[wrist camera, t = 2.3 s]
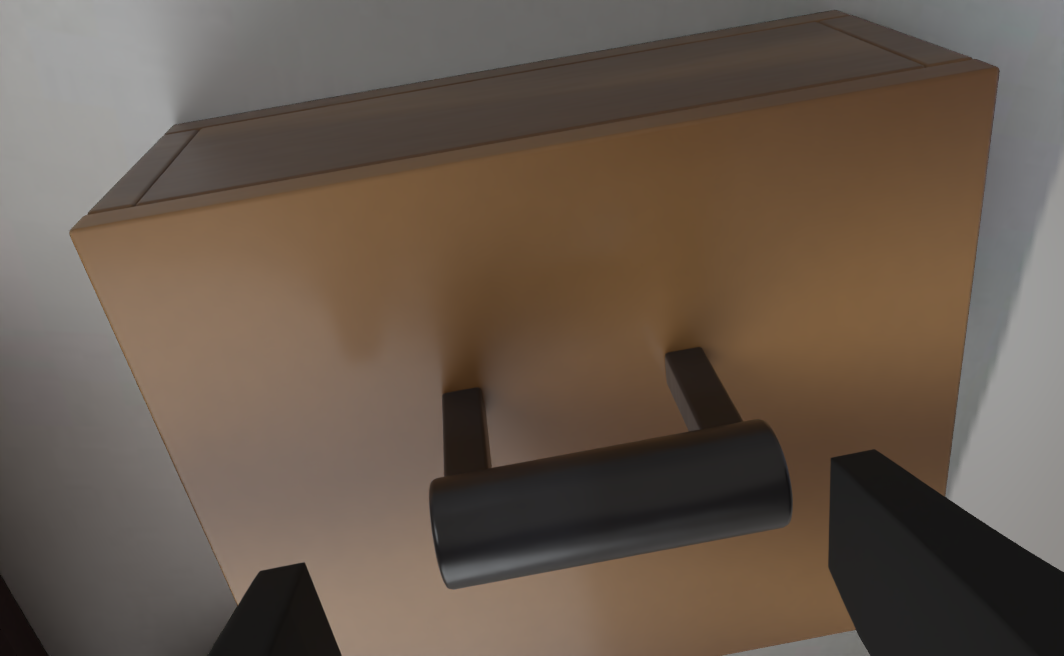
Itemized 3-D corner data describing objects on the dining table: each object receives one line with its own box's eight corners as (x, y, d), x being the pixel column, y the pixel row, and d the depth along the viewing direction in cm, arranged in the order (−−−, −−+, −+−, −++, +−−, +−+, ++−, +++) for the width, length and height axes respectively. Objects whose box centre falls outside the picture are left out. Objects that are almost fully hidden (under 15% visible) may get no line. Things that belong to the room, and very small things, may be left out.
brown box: (915, 593, 20) (1042, 784, 16) (300, 710, 20) (266, 935, 15) (976, 57, 14) (1209, 141, 10) (82, 214, 13) (-70, 369, 9)
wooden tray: (824, 433, 24) (918, 569, 19) (317, 528, 24) (290, 688, 19) (837, 8, 18) (975, 56, 14) (171, 124, 18) (83, 213, 13)
